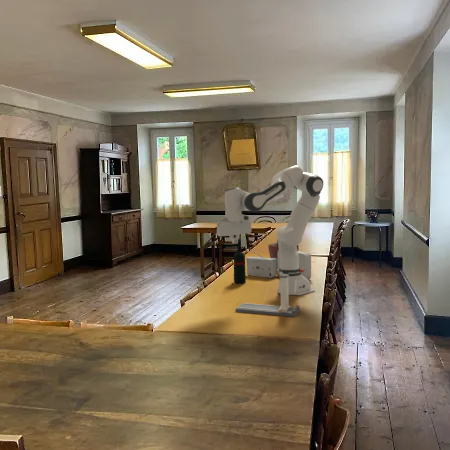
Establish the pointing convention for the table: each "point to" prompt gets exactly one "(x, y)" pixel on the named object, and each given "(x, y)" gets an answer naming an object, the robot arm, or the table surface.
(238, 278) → the wine bottle
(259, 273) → the stereo radio cassette player
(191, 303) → the table surface
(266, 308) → the board
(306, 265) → the rounded white slab
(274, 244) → the bucket
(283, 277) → the fader tab
